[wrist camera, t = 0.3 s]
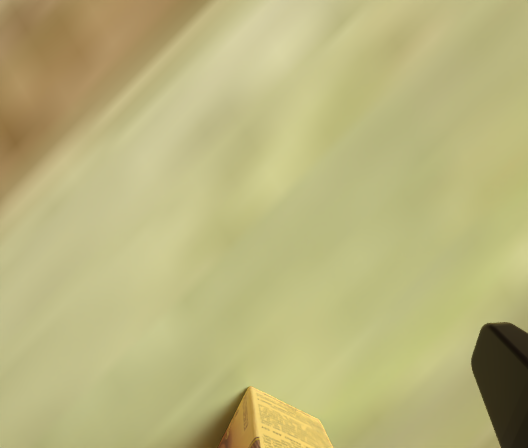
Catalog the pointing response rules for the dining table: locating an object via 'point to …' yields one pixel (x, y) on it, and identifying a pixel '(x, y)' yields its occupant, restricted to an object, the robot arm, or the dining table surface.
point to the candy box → (272, 425)
